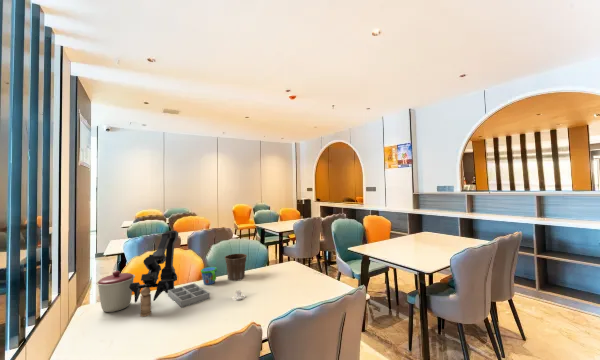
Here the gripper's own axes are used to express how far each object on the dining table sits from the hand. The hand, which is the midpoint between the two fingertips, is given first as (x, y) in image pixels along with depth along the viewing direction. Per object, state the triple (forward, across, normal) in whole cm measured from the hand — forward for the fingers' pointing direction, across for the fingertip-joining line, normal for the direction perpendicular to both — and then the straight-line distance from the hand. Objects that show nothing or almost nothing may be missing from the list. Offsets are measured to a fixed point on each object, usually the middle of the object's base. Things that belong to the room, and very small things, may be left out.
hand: (144, 301), depth 139 cm
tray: (-9, +16, +20) cm, 27 cm away
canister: (-4, -21, +15) cm, 26 cm away
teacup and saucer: (-2, +45, +14) cm, 47 cm away
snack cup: (-25, +24, +36) cm, 50 cm away
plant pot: (-30, +42, +41) cm, 66 cm away
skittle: (+4, 0, +6) cm, 7 cm away
